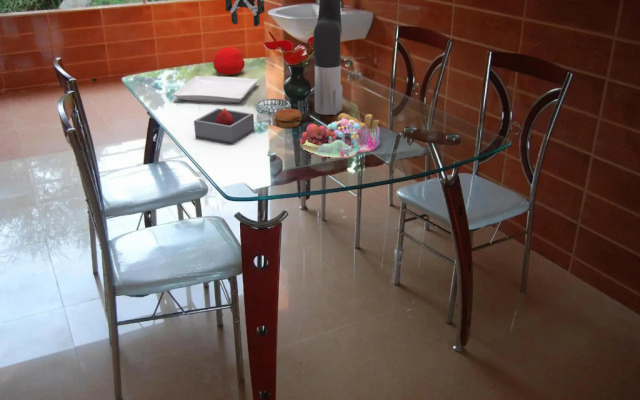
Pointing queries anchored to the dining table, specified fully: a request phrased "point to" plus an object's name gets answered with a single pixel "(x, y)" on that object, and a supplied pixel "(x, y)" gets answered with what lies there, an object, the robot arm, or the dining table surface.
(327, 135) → the candy dessert platter
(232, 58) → the tomato
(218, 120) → the onion
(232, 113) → the bin
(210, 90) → the square plate
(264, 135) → the dining table surface
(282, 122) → the burger
